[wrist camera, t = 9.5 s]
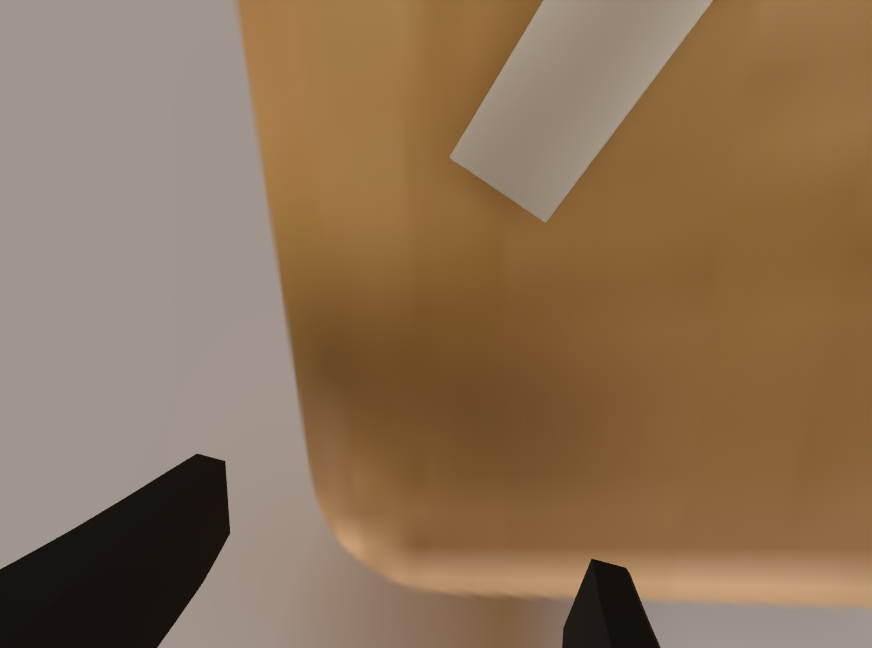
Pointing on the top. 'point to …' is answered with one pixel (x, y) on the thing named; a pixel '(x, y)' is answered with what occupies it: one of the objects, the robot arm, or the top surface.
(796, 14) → the top surface
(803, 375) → the top surface
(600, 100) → the grey rectangular block
